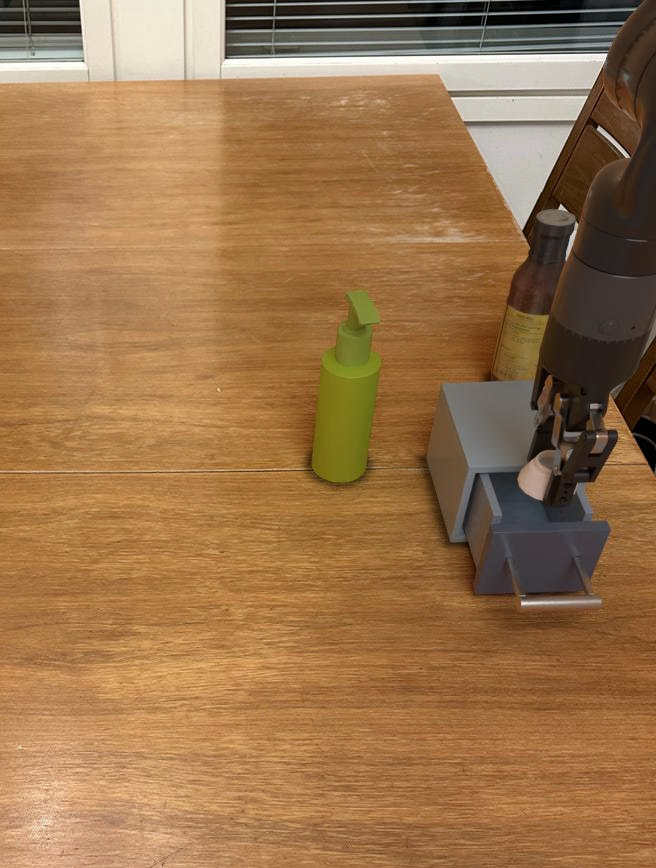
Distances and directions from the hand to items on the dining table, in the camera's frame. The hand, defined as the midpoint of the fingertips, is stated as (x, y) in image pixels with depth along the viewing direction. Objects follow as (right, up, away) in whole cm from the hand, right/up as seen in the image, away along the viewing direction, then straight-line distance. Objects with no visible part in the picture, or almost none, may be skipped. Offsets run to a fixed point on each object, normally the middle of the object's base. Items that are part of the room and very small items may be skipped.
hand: (547, 483), depth 87 cm
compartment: (0, -7, +7) cm, 10 cm away
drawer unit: (0, +1, +15) cm, 15 cm away
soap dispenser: (-15, +5, +19) cm, 25 cm away
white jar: (0, 0, 0) cm, 1 cm away
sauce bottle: (+7, +16, +29) cm, 34 cm away
